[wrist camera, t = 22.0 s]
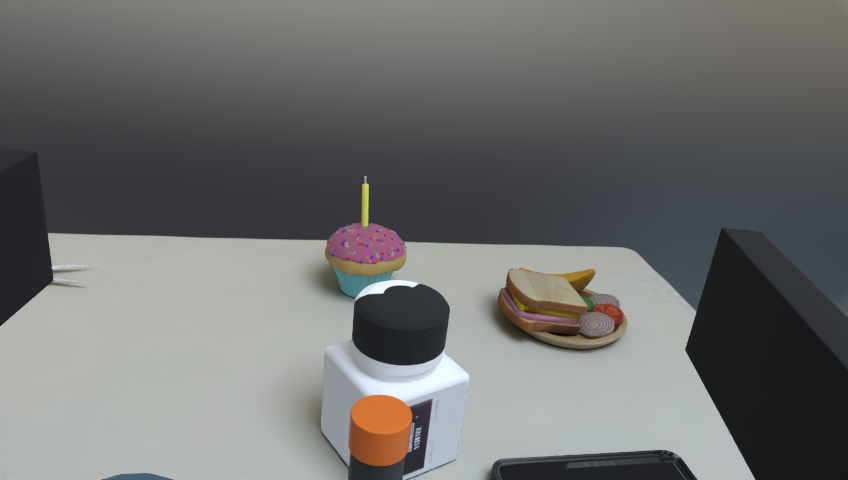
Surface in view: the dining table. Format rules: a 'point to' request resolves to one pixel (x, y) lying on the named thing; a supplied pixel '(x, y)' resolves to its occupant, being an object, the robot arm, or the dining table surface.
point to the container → (398, 371)
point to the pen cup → (137, 477)
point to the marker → (378, 438)
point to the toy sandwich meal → (562, 309)
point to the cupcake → (364, 252)
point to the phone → (595, 467)
